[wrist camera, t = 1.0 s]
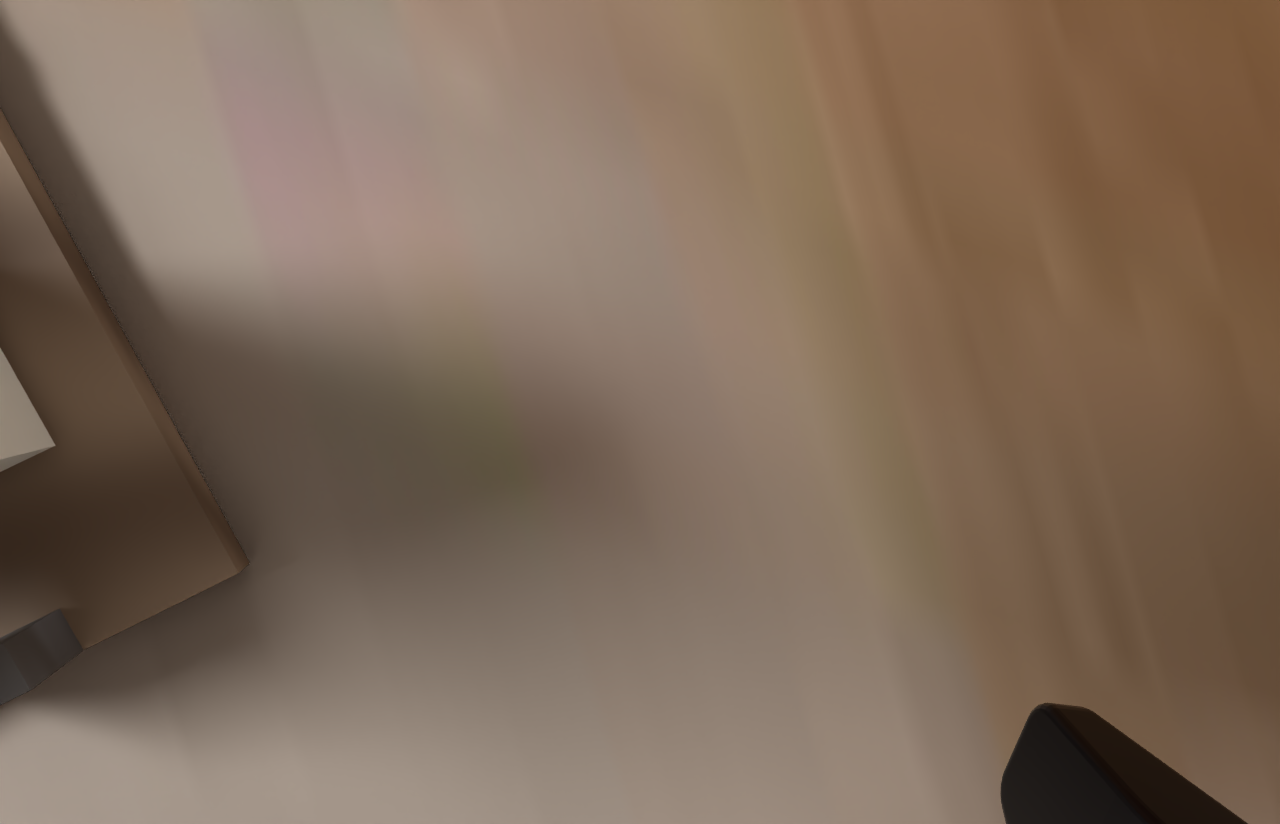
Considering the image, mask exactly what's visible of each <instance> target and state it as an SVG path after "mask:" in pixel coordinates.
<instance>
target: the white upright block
mask: <svg viewBox="0 0 1280 824" xmlns="http://www.w3.org/2000/svg"><path fill="white" fill-rule="evenodd" d="M54 446H56V445H55V444H54V442H53V440H52V438H51V437H50V435H49V433H48V431H47V429H46V428H45V426H44V424H43V422H42V421H41V419H40V417H39V415H38V414H37V412H36V410H35V408H34V406H33V405H32V403H31V401H30V399H29V398H28V396H27V394H26V392H25V391H24V389H23V387H22V385H21V383H20V382H19V380H18V378H17V376H16V375H15V373H14V371H13V369H12V368H11V366H10V364H9V362H8V360H7V359H6V357H5V355H4V353H3V352H2V350H1V348H0V472H1V471H3V470H6V469H8V468H10V467H12V466H14V465H16V464H18V463H20V462H22V461H24V460H26V459H29V458H31V457H33V456H35V455H37V454H39V453H41V452H43V451H45V450H47V449H49V448H52V447H54Z"/></svg>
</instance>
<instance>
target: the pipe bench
mask: <svg viewBox="0 0 1280 824" xmlns="http://www.w3.org/2000/svg"><path fill="white" fill-rule="evenodd" d="M0 348H1V350H2V352H3V353H4V355H5V357H6V359H7V360H8V362H9V364H10V366H11V368H12V369H13V371H14V373H15V375H16V376H17V378H18V380H19V382H20V383H21V385H22V387H23V389H24V391H25V392H26V394H27V396H28V398H29V399H30V401H31V403H32V405H33V406H34V408H35V410H36V412H37V414H38V415H39V417H40V419H41V421H42V422H43V424H44V426H45V428H46V429H47V431H48V433H49V435H50V437H51V438H52V440H53V442H54V444H55V445H56V446H54V447H52V448H49V449H47V450H45V451H43V452H41V453H39V454H37V455H35V456H33V457H31V458H29V459H26V460H24V461H22V462H20V463H18V464H16V465H14V466H12V467H10V468H8V469H6V470H3V471H1V472H0V705H2V704H4V703H6V702H8V701H10V700H12V699H14V698H16V697H18V696H20V695H22V694H24V693H26V692H28V691H30V690H32V689H33V688H34V687H36V686H37V685H38V684H39V683H41V682H42V681H43V680H45V679H46V678H47V677H49V676H50V675H51V674H53V673H54V672H55V671H57V670H58V669H59V668H61V667H62V666H63V665H65V664H66V663H67V662H69V661H70V660H71V659H73V658H74V657H75V656H77V655H78V654H79V653H81V652H82V651H83V650H85V649H87V648H89V647H91V646H93V645H95V644H97V643H99V642H101V641H103V640H105V639H107V638H109V637H111V636H113V635H115V634H117V633H119V632H121V631H123V630H125V629H127V628H129V627H131V626H133V625H135V624H137V623H139V622H141V621H143V620H145V619H147V618H149V617H151V616H153V615H155V614H158V613H160V612H162V611H164V610H166V609H168V608H170V607H172V606H174V605H176V604H178V603H180V602H182V601H184V600H186V599H188V598H190V597H192V596H194V595H196V594H198V593H200V592H202V591H204V590H206V589H208V588H210V587H212V586H214V585H216V584H218V583H220V582H222V581H224V580H226V579H228V578H230V577H232V576H234V575H236V574H238V573H239V572H240V571H242V570H243V569H244V568H245V567H246V566H247V565H248V564H249V561H248V559H247V557H246V556H245V554H244V552H243V550H242V548H241V546H240V545H239V543H238V541H237V539H236V537H235V536H234V534H233V532H232V530H231V528H230V526H229V525H228V523H227V521H226V519H225V517H224V515H223V514H222V512H221V510H220V508H219V506H218V505H217V503H216V501H215V499H214V497H213V495H212V494H211V492H210V490H209V488H208V486H207V484H206V483H205V481H204V479H203V477H202V475H201V474H200V472H199V470H198V468H197V466H196V464H195V463H194V461H193V459H192V457H191V455H190V453H189V452H188V450H187V448H186V446H185V444H184V443H183V441H182V439H181V437H180V435H179V433H178V432H177V430H176V428H175V426H174V424H173V422H172V421H171V419H170V417H169V415H168V413H167V411H166V410H165V408H164V406H163V404H162V402H161V401H160V399H159V397H158V395H157V393H156V391H155V390H154V388H153V386H152V384H151V382H150V380H149V379H148V377H147V375H146V373H145V371H144V370H143V368H142V366H141V364H140V362H139V360H138V359H137V357H136V355H135V353H134V351H133V349H132V348H131V346H130V344H129V342H128V340H127V339H126V337H125V335H124V333H123V331H122V329H121V328H120V326H119V324H118V322H117V320H116V318H115V317H114V315H113V313H112V311H111V309H110V308H109V306H108V304H107V302H106V300H105V298H104V297H103V295H102V293H101V291H100V289H99V287H98V286H97V284H96V282H95V280H94V278H93V276H92V275H91V273H90V271H89V269H88V267H87V266H86V264H85V262H84V260H83V258H82V256H81V255H80V253H79V251H78V249H77V247H76V245H75V244H74V242H73V240H72V238H71V236H70V235H69V233H68V231H67V229H66V227H65V225H64V224H63V222H62V220H61V218H60V216H59V214H58V213H57V211H56V209H55V207H54V205H53V204H52V202H51V200H50V198H49V196H48V194H47V193H46V191H45V189H44V187H43V185H42V183H41V182H40V180H39V178H38V176H37V174H36V172H35V171H34V169H33V167H32V165H31V163H30V162H29V160H28V158H27V156H26V154H25V152H24V151H23V149H22V147H21V145H20V143H19V141H18V140H17V138H16V136H15V134H14V132H13V131H12V129H11V127H10V125H9V123H8V121H7V120H6V118H5V116H4V114H3V112H2V110H1V109H0Z"/></svg>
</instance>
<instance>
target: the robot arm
mask: <svg viewBox="0 0 1280 824" xmlns="http://www.w3.org/2000/svg"><path fill="white" fill-rule="evenodd" d="M1001 803H1002V809H1003V813H1004V817H1005V821H1006V824H1248V823H1246V822H1245V821H1243V820H1242V819H1241V818H1239V817H1238V816H1237V815H1235V814H1234V813H1232V812H1231V811H1230V810H1228V809H1227V808H1226V807H1224V806H1223V805H1221V804H1220V803H1219V802H1217V801H1216V800H1215V799H1213V798H1212V797H1210V796H1209V795H1208V794H1206V793H1205V792H1203V791H1202V790H1201V789H1199V788H1198V787H1197V786H1195V785H1194V784H1192V783H1191V782H1190V781H1188V780H1187V779H1186V778H1184V777H1183V776H1181V775H1180V774H1179V773H1177V772H1176V771H1174V770H1173V769H1172V768H1170V767H1169V766H1168V765H1166V764H1165V763H1163V762H1162V761H1161V760H1159V759H1158V758H1157V757H1155V756H1154V755H1152V754H1151V753H1150V752H1148V751H1147V750H1146V749H1144V748H1143V747H1141V746H1140V745H1139V744H1137V743H1136V742H1134V741H1133V740H1132V739H1130V738H1129V737H1128V736H1126V735H1125V734H1123V733H1122V732H1121V731H1119V730H1118V729H1117V728H1115V727H1114V726H1112V725H1111V724H1110V723H1108V722H1107V721H1105V720H1104V719H1103V718H1101V717H1100V716H1099V715H1097V714H1096V713H1094V712H1093V711H1091V710H1089V709H1087V708H1084V707H1079V706H1071V705H1062V704H1053V703H1044V704H1040V705H1038V706H1037V707H1035V708H1034V709H1033V710H1032V711H1031V713H1030V715H1029V717H1028V719H1027V721H1026V723H1025V726H1024V728H1023V730H1022V732H1021V735H1020V737H1019V739H1018V741H1017V744H1016V746H1015V748H1014V750H1013V753H1012V755H1011V757H1010V759H1009V762H1008V764H1007V766H1006V768H1005V771H1004V774H1003V777H1002V782H1001Z"/></svg>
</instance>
